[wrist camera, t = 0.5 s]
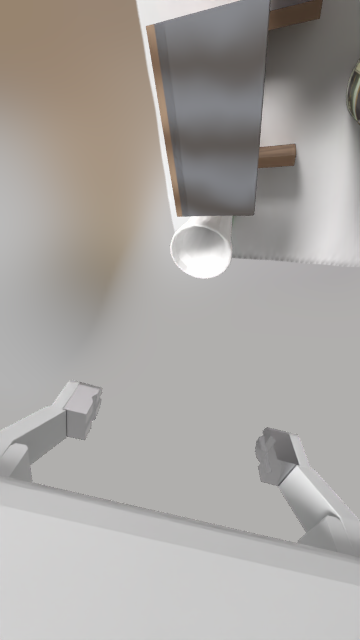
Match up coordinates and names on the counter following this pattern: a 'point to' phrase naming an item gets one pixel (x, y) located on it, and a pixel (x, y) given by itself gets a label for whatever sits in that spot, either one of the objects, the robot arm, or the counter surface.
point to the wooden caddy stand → (218, 102)
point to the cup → (203, 246)
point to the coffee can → (354, 93)
